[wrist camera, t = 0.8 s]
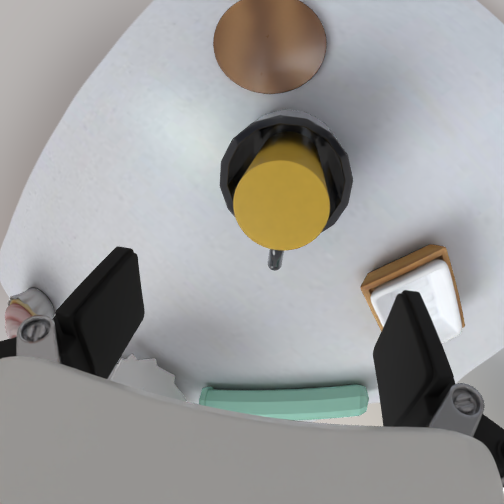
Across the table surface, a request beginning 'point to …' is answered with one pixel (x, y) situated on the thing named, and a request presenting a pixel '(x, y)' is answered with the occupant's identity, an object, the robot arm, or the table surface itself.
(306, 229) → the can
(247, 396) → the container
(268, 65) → the coaster
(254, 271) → the table surface
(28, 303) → the cupcake
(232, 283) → the table surface
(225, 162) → the mug
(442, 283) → the soap dish
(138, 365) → the spiral staircase
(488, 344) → the table surface
